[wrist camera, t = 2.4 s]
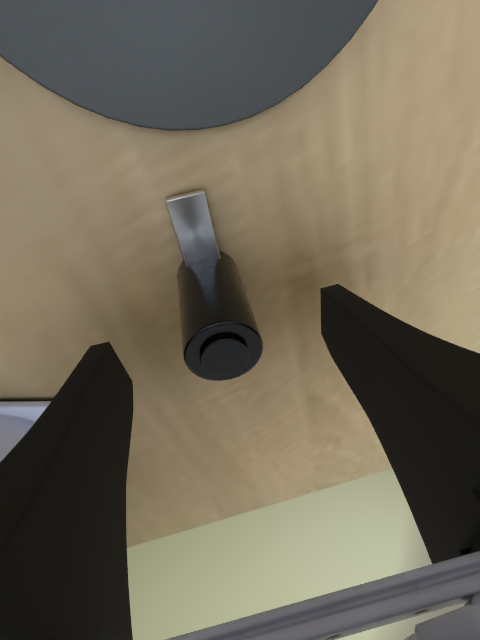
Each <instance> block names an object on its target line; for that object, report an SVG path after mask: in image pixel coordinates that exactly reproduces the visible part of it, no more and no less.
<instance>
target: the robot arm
mask: <svg viewBox="0 0 480 640" xmlns="http://www.w3.org/2000/svg"><path fill="white" fill-rule="evenodd" d="M320 291H321V334H322V336H323V338H324V341H325V343H326V345H327V348H328V350H329V352H330V354H331V356H332V358H333V360H334V362H335V363H336V365H337V367H338V368H339V370H340V372H341V373H342V375H343V377H344V378H345V380H346V381H347V383H348V385H349V386H350V388H351V390H352V391H353V393H354V394H355V396H356V398H357V399H358V401H359V403H360V404H361V406H362V407H363V409H364V411H365V413H366V414H367V416H368V418H369V420H370V421H371V424H372V426H373V428H374V430H375V432H376V434H377V436H378V438H379V440H380V442H381V444H382V446H383V448H384V451H385V453H386V455H387V457H388V459H389V462H390V464H391V466H392V468H393V470H394V472H395V474H396V477H397V479H398V481H399V484H400V486H401V488H402V491H403V493H404V495H405V498H406V500H407V502H408V505H409V507H410V509H411V512H412V514H413V516H414V519H415V522H416V524H417V527H418V529H419V531H420V534H421V536H422V539H423V541H424V543H425V546H426V548H427V551H428V554H429V557H430V559H431V562H432V563H433V564H432V565H428V566H425V567H421V568H418V569H414V570H410V571H407V572H403V573H400V574H396V575H393V576H389V577H386V578H382V579H379V580H375V581H371V582H368V583H364V584H361V585H358V586H354V587H350V588H347V589H343V590H340V591H336V592H332V593H329V594H325V595H322V596H319V597H315V598H311V599H308V600H304V601H301V602H297V603H293V604H290V605H286V606H283V607H279V608H276V609H272V610H269V611H265V612H262V613H258V614H255V615H251V616H247V617H244V618H240V619H237V620H233V621H230V622H226V623H223V624H219V625H216V626H212V627H209V628H205V629H201V630H198V631H194V632H191V633H187V634H184V635H180V636H176V637H173V638H169V639H166V640H334V639H338V638H341V637H345V636H348V635H352V634H355V633H359V632H362V631H366V630H369V629H372V628H376V627H380V626H383V625H387V624H390V623H394V622H397V621H401V620H404V619H408V618H411V617H415V616H418V615H422V614H425V613H429V612H432V611H436V610H439V609H443V608H446V607H450V606H453V605H457V604H460V603H463V602H466V603H465V605H464V607H461V608H459V609H456V610H454V611H451V612H448V613H445V614H443V615H440V616H438V617H435V618H432V619H430V620H427V621H425V622H422V623H419V624H417V625H416V627H415V633H414V634H412V635H411V636H409V637H407V638H406V639H404V640H480V353H477V352H474V351H471V350H468V349H465V348H462V347H460V346H457V345H454V344H452V343H449V342H447V341H445V340H442V339H440V338H437V337H435V336H432V335H430V334H428V333H426V332H423V331H421V330H419V329H417V328H415V327H413V326H411V325H409V324H407V323H405V322H403V321H401V320H399V319H397V318H395V317H393V316H392V315H390V314H388V313H386V312H384V311H383V310H381V309H379V308H377V307H376V306H374V305H372V304H370V303H369V302H367V301H365V300H364V299H362V298H360V297H359V296H357V295H355V294H354V293H352V292H351V291H349V290H347V289H346V288H344V287H342V286H340V285H339V284H336V285H332V286H328V287H324V288H320ZM132 419H133V384H132V380H131V378H130V377H129V375H128V373H127V372H126V370H125V368H124V366H123V365H122V363H121V361H120V360H119V358H118V356H117V354H116V353H115V351H114V349H113V348H112V346H111V344H110V342H105V343H101V344H97V345H93V346H91V347H90V348H89V349H88V351H87V352H86V353H85V355H84V356H83V357H82V359H81V360H80V362H79V363H78V365H77V366H76V368H75V369H74V370H73V372H72V373H71V375H70V376H69V378H68V379H67V380H66V382H65V383H64V385H63V386H62V387H61V389H60V390H59V392H58V393H57V395H56V396H55V397H54V399H53V400H52V401H22V402H0V640H133V638H132V627H131V616H130V602H129V588H128V568H127V544H126V478H127V466H128V457H129V448H130V438H131V429H132Z"/></svg>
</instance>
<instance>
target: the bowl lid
mask: <svg viewBox="0 0 480 640" xmlns="http://www.w3.org/2000/svg"><path fill="white" fill-rule="evenodd" d="M377 1H378V0H0V56H1V57H2V58H3V59H4V60H6V61H7V62H8V63H10V64H11V65H13V66H14V67H16V68H17V69H18V70H20V71H21V72H23V73H24V74H26V75H27V76H28V77H30V78H31V79H33V80H34V81H36V82H37V83H38V84H40V85H41V86H43V87H45V88H46V89H48V90H50V91H52V92H54V93H56V94H57V95H59V96H61V97H63V98H65V99H66V100H68V101H70V102H72V103H74V104H75V105H78V106H80V107H82V108H85V109H87V110H90V111H92V112H94V113H97V114H99V115H102V116H104V117H107V118H109V119H113V120H117V121H120V122H124V123H128V124H131V125H135V126H139V127H146V128H154V129H161V130H201V129H207V128H213V127H219V126H225V125H228V124H231V123H234V122H237V121H240V120H243V119H247V118H250V117H252V116H254V115H256V114H258V113H260V112H262V111H264V110H267V109H269V108H271V107H273V106H275V105H277V104H278V103H280V102H281V101H283V100H284V99H286V98H287V97H289V96H290V95H292V94H293V93H295V92H296V91H298V90H299V89H300V88H302V87H303V86H304V85H305V84H307V83H308V82H309V81H310V80H311V79H312V78H313V77H315V76H316V75H317V74H318V73H319V72H320V71H321V70H323V69H324V68H325V67H326V66H327V65H328V64H329V63H330V62H331V61H332V59H333V58H334V57H335V56H336V55H337V54H338V53H339V52H340V51H341V49H342V48H343V47H344V46H345V45H346V44H347V43H348V42H349V41H350V39H351V38H352V37H353V35H354V34H355V33H356V31H357V30H358V29H359V27H360V26H361V24H362V23H363V22H364V20H365V19H366V18H367V16H368V15H369V13H370V12H371V11H372V9H373V8H374V6H375V5H376V3H377Z"/></svg>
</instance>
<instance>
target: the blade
mask: <svg viewBox="0 0 480 640" xmlns="http://www.w3.org/2000/svg"><path fill="white" fill-rule="evenodd" d="M166 204H167V207H168V211H169V214H170V217H171V220H172V223H173V226H174V230H175V233H176V236H177V239H178V242H179V245H180V248H181V252H182V255H183V258H184V261H183V262H182V263H181V265H180V267H179V270H178V290H179V303H180V316H181V329H182V342H183V355H184V361H185V363H186V365H187V367H188V368H189V369H190V370H191V371H192V372H193V373H194V374H195V375H197V376H199V377H201V378H204V379H208V380H215V381H222V380H229V379H233V378H236V377H239V376H241V375H243V374H245V373H246V372H248V371H249V370H250V369H252V368H253V367H254V366H255V365H256V363H257V362H258V361H259V359H260V357H261V354H262V351H263V342H262V338H261V335H260V332H259V330H258V327H257V324H256V321H255V318H254V316H253V313H252V310H251V307H250V304H249V302H248V299H247V296H246V293H245V290H244V288H243V285H242V282H241V279H240V276H239V274H238V271H237V268H236V265H235V263H234V262H233V260H232V259H231V258H230V257H229V256H228V255H226V254H225V253H223V252H221V251H219V250H218V246H217V241H216V237H215V233H214V229H213V225H212V220H211V216H210V212H209V208H208V203H207V199H206V195H205V191H204V189H202V190H198V191H194V192H190V193H186V194H181V195H177V196H173V197H169V198H166Z"/></svg>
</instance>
